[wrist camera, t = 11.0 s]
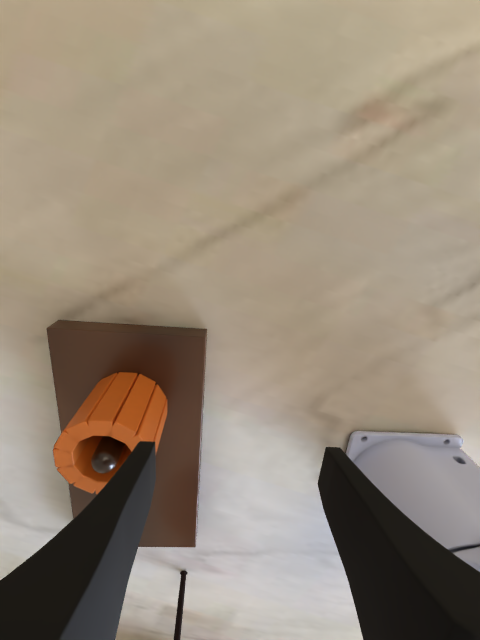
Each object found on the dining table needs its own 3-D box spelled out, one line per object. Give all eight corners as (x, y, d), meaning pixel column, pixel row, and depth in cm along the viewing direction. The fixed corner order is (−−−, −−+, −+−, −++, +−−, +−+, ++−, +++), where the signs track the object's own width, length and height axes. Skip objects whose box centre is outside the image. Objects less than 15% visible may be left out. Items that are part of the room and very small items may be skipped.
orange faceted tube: (167, 373, 21) (150, 422, 16) (167, 436, 22) (152, 496, 18) (88, 370, 20) (47, 418, 16) (94, 433, 22) (59, 494, 17)
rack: (207, 328, 21) (199, 383, 15) (196, 530, 28) (188, 630, 21) (58, 319, 21) (-22, 373, 14) (84, 529, 27) (39, 632, 21)
